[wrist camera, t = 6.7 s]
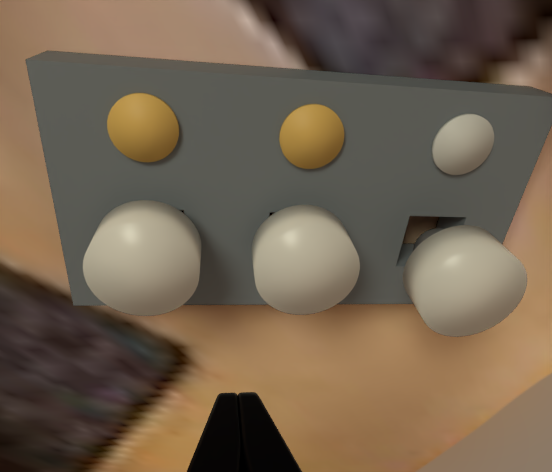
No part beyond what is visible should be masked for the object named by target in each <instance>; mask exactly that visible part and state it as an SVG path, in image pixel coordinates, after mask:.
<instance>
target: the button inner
mask: <svg viewBox="0 0 552 472" xmlns="http://www.w3.org/2000/svg"><path fill="white" fill-rule="evenodd" d="M200 261H201V239H200V235H199V233H198V230H197V229H196V227H195V225H194V224H193V222H192V221H191V220H190V219H189V218H188V217H187V216H186V215H185V214H184V213H182V212H181V211H180V210H178V209H176V208H175V207H172V206H170V205H168V204H165V203H162V202H157V201H151V200H138V201H131V202H128V203H124V204H122V205H120V206H118V207H116V208H114V209H113V210H111V211H110V212H109V213H108V214H107V215H106V216H105V217H104V218H103V219H102V221H101V222H100V224H99V226H98V228H97V230H96V232H95V234H94V236H93V238H92V241H91V243H90V245H89V247H88V249H87V251H86V253H85V256H84V260H83V273H84V277H85V280H86V283H87V285H88V286H89V288H90V290H91V291H92V292H93V294H94V295H95V296H96V297H97V298H98V299H99V300H101V301H102V302H103V303H105V304H106V305H108V306H109V307H111V308H113V309H115V310H117V311H120V312H123V313H127V314H131V315H137V316H154V315H160V314H164V313H168V312H170V311H173V310H175V309H177V308H179V307H180V306H182V305H183V304H184V303H185V302H187V301H188V300H189V299H190V297H191V296H192V295H193V293H194V292H195V290H196V288H197V285H198V282H199V275H200Z"/></svg>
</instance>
